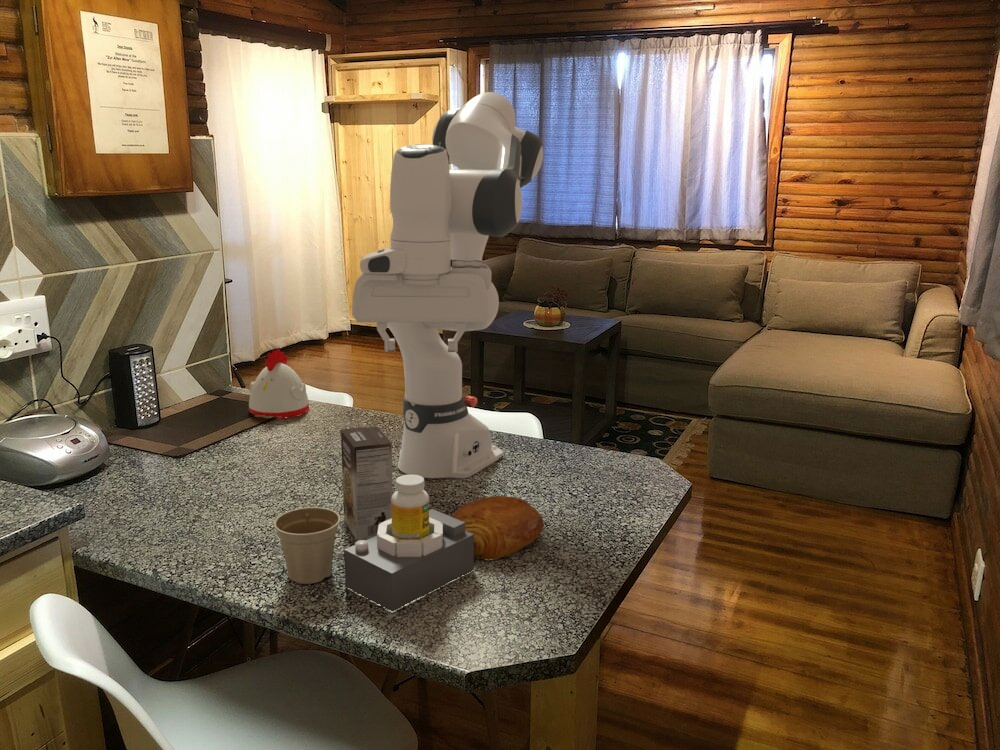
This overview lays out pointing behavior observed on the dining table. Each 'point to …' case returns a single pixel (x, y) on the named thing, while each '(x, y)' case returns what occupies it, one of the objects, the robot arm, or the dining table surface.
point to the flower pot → (308, 542)
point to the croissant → (500, 525)
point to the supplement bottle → (410, 508)
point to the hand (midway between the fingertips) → (421, 351)
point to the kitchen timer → (278, 390)
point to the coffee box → (366, 479)
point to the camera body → (409, 561)
